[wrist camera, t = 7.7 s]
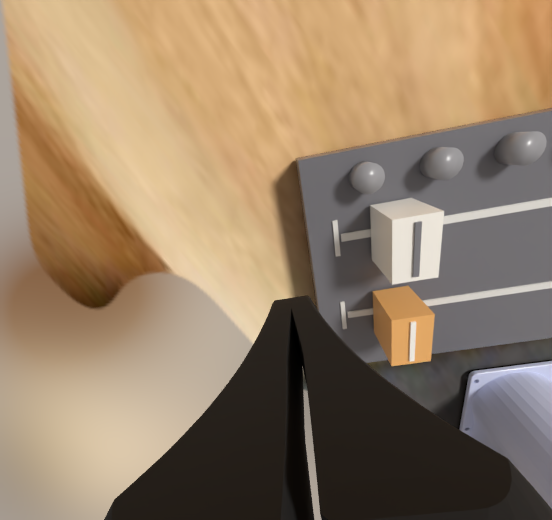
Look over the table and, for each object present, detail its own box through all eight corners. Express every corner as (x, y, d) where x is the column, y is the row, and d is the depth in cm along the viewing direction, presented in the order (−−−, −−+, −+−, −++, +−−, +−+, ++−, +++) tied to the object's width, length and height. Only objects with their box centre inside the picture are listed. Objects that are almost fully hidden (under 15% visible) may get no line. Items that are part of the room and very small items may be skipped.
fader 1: (409, 253, 16) (439, 278, 14) (371, 259, 17) (392, 285, 14) (411, 197, 15) (445, 211, 12) (370, 205, 15) (393, 220, 12)
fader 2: (406, 327, 19) (431, 362, 16) (373, 332, 19) (392, 367, 16) (408, 285, 17) (435, 315, 14) (372, 291, 18) (392, 321, 15)
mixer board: (551, 317, 21) (595, 345, 18) (322, 349, 23) (329, 380, 20) (623, 94, 15) (708, 81, 12) (295, 158, 16) (299, 162, 13)
